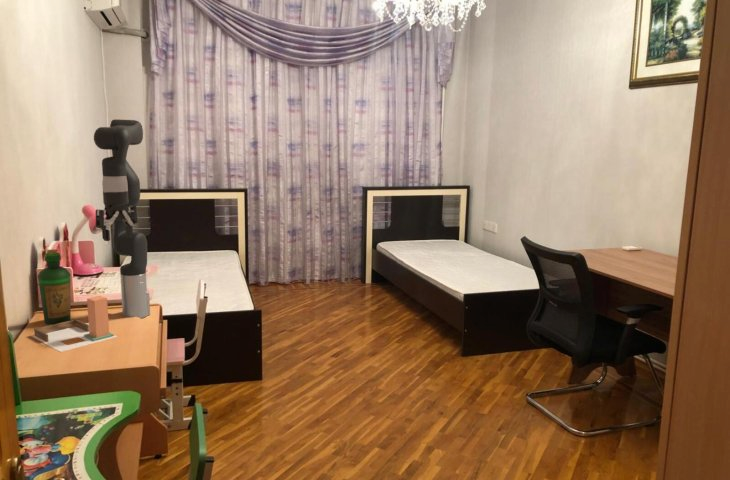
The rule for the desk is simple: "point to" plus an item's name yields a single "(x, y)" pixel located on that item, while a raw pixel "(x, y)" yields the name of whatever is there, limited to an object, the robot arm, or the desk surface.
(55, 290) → the bottle
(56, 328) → the tray
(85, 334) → the pad
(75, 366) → the desk surface
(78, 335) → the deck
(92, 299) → the post
